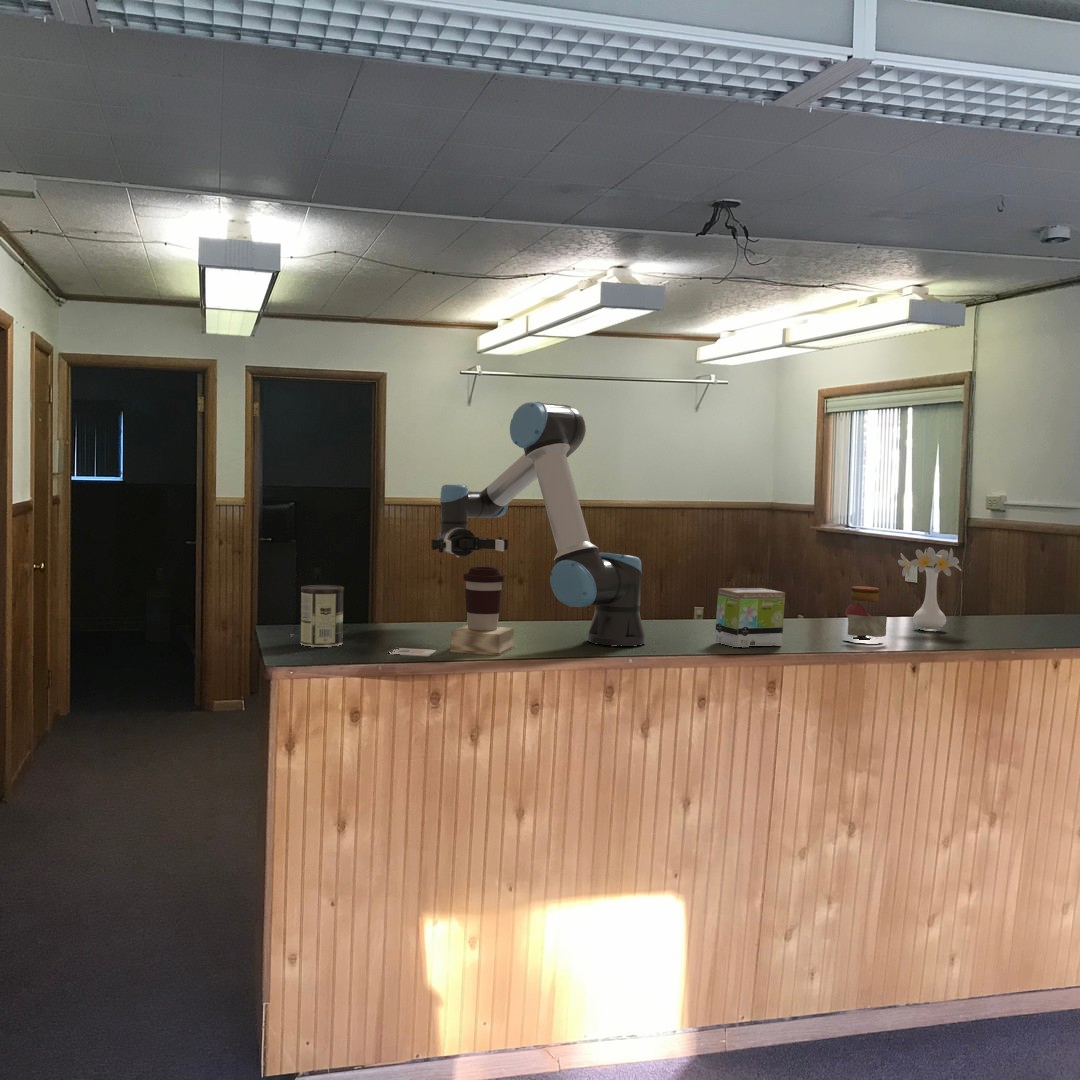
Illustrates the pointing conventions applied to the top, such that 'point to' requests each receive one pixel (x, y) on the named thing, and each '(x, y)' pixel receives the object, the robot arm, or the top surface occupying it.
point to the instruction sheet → (413, 652)
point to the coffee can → (322, 615)
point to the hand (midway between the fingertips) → (476, 546)
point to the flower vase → (930, 584)
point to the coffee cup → (483, 597)
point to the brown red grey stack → (864, 615)
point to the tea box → (749, 617)
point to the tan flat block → (482, 641)
